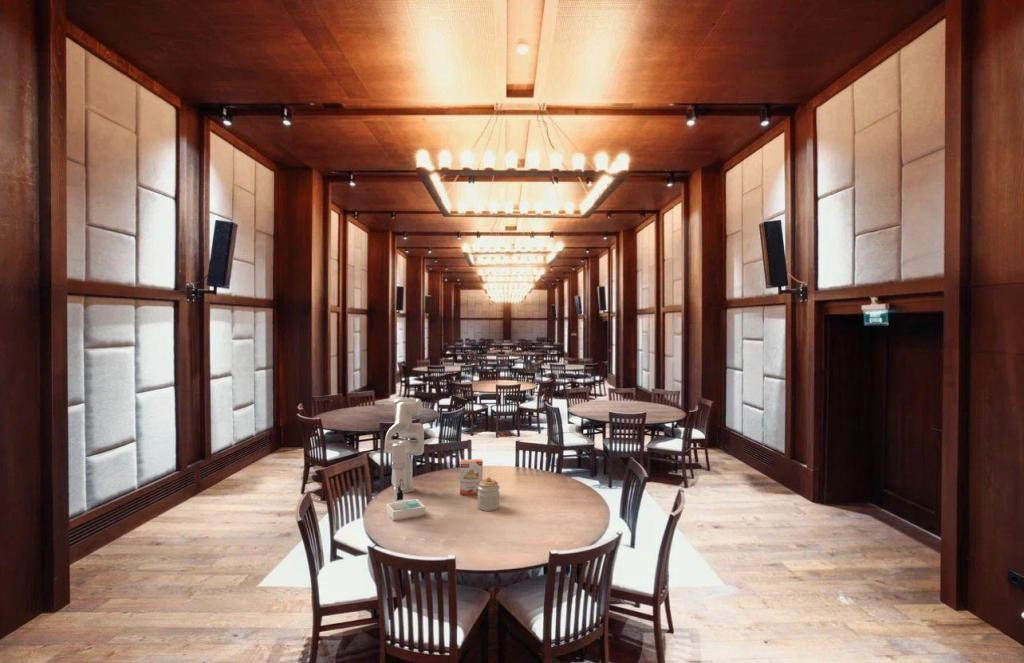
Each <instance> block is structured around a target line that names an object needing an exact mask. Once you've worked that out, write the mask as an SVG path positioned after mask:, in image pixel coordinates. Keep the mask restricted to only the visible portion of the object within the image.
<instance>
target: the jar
mask: <svg viewBox="0 0 1024 663" xmlns="http://www.w3.org/2000/svg"><path fill="white" fill-rule="evenodd" d="M500 487H501V486H500V485H499V482H498V481H497V480H496V479H492V478H491V477H490V476H488V477H486V478H484V479H482V481H481V482H479V486H478V487H477V488H478V492H477V494H476V495H477V503H476V506H477V509H478V510H480V511H487V512H491V511H496V510H498V509H499V508H500V505H501V504H500V494H501V492H500V491H499V490H500V489H501V488H500Z"/></svg>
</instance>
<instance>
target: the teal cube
mask: <svg viewBox="0 0 1024 663" xmlns="http://www.w3.org/2000/svg"><path fill="white" fill-rule="evenodd" d="M413 500H414V499H413ZM416 507H418V502H417V501H416V500H414V501H408V502H407V509H410V508H416Z"/></svg>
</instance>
